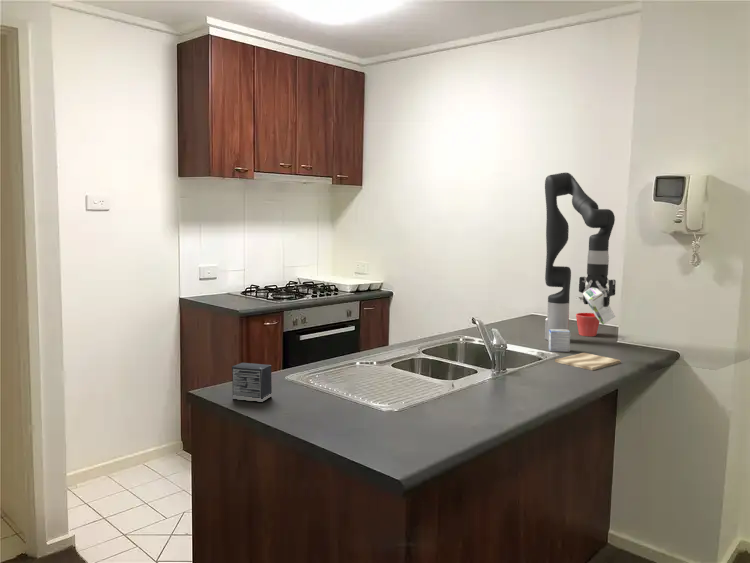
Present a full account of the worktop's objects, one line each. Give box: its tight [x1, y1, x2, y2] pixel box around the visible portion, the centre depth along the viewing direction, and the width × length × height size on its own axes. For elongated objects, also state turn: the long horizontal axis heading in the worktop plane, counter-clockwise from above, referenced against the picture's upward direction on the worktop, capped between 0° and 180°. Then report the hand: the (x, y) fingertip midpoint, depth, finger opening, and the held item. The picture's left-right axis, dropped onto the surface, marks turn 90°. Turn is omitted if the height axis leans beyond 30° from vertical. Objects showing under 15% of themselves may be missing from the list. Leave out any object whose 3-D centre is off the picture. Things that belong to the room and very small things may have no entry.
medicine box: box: [548, 329, 571, 353], centre depth 255 cm, size 8×4×9 cm, turn 84°
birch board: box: [554, 352, 622, 371], centre depth 235 cm, size 16×19×1 cm
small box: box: [231, 362, 273, 399], centre depth 188 cm, size 11×6×10 cm, turn 71°
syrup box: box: [582, 287, 616, 325], centre depth 235 cm, size 6×6×14 cm
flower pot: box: [575, 312, 601, 337], centre depth 288 cm, size 11×11×10 cm
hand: (596, 305), depth 234 cm, fingers closed on syrup box, 7 cm apart
